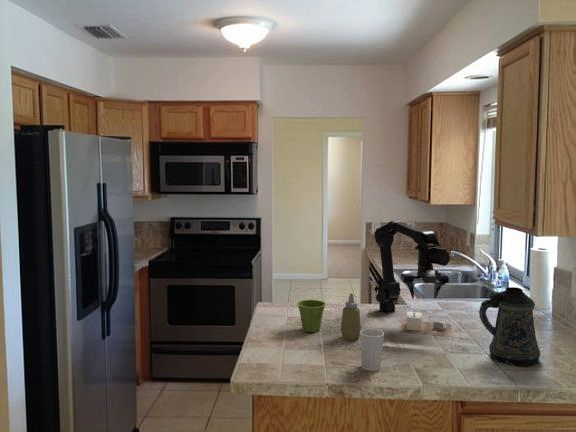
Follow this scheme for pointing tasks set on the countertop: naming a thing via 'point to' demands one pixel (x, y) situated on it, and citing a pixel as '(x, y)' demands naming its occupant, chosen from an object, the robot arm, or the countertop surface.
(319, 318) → the plant pot
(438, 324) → the white wooden block
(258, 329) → the countertop surface
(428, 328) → the base board
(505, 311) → the beer stein
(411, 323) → the white slotted box
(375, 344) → the cup
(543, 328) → the countertop surface
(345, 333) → the squeeze bottle
